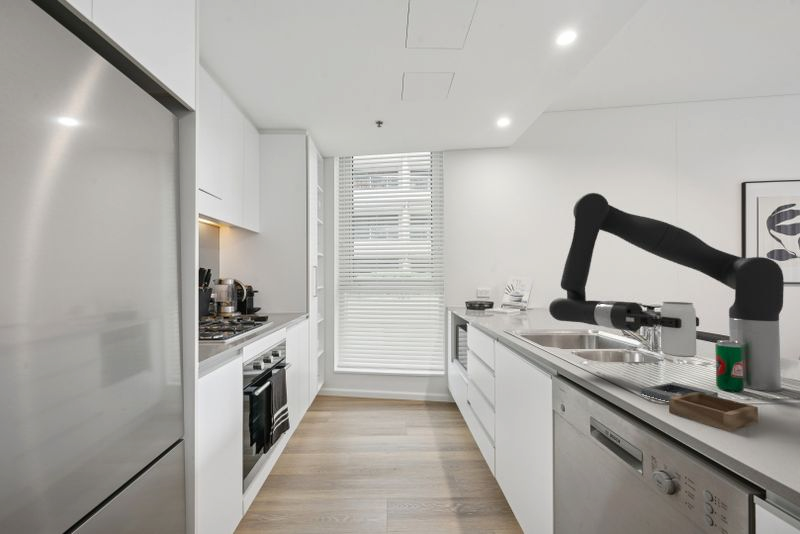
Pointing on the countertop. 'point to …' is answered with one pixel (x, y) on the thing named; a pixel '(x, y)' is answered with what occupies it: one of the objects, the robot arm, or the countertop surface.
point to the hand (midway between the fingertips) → (689, 322)
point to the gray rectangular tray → (660, 390)
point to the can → (679, 330)
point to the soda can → (729, 366)
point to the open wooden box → (714, 411)
